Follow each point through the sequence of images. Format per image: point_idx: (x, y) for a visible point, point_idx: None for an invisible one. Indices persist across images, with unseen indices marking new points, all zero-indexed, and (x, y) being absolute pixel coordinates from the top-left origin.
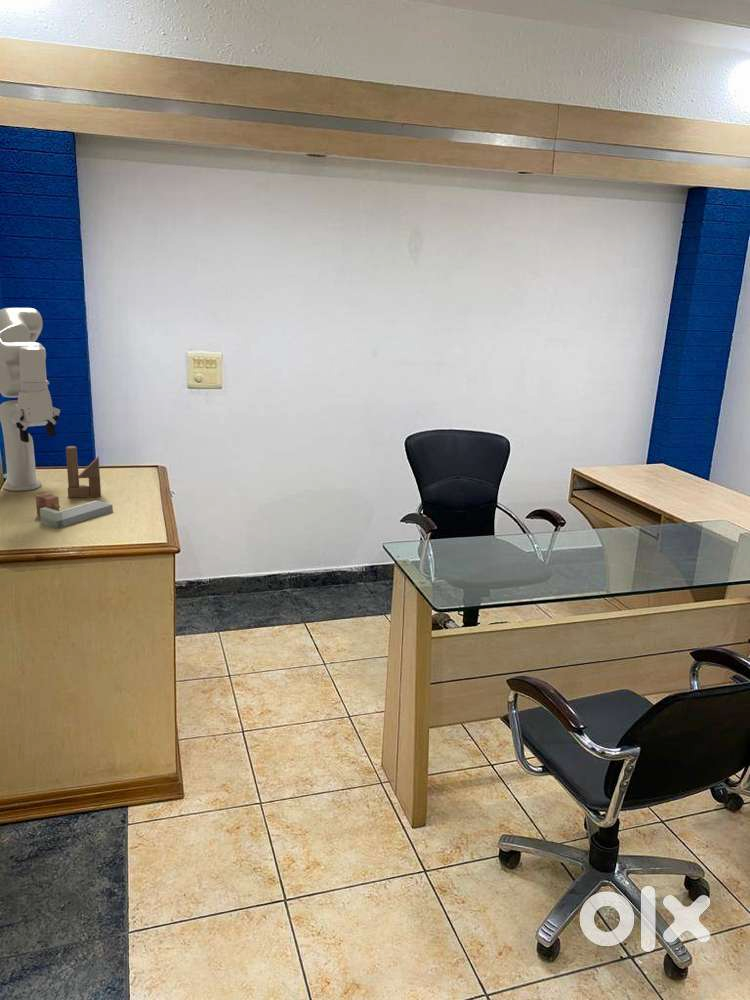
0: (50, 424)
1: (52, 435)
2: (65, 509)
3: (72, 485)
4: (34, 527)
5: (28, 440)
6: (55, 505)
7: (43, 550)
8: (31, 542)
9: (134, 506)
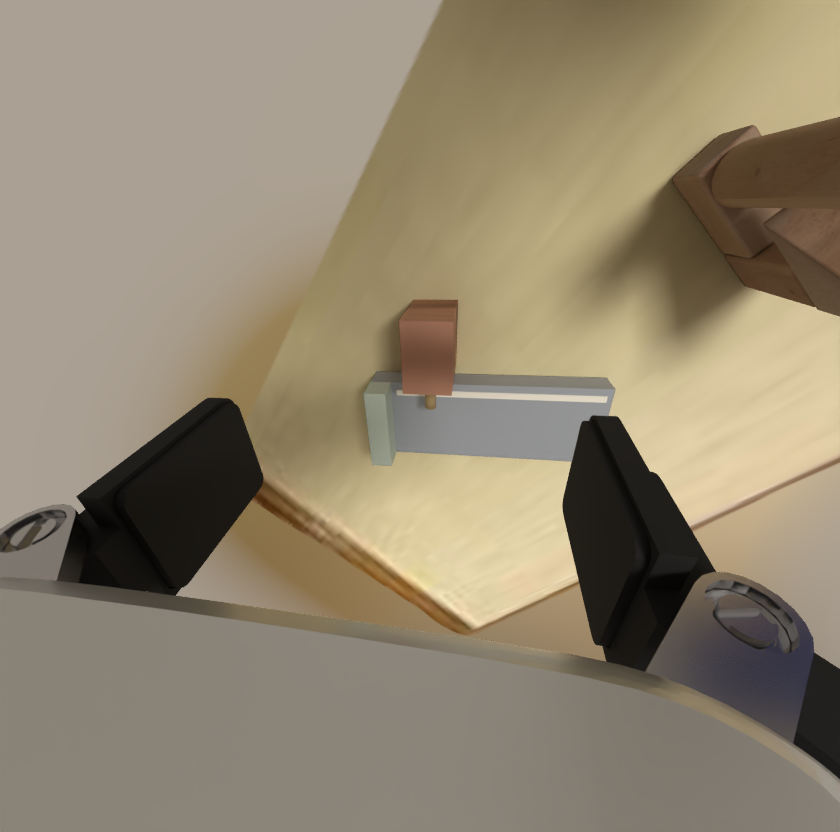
0: (620, 634)
1: (564, 514)
2: (465, 391)
3: (718, 196)
4: (346, 383)
5: (249, 496)
6: (426, 397)
7: (286, 507)
8: (287, 458)
9: (674, 461)
